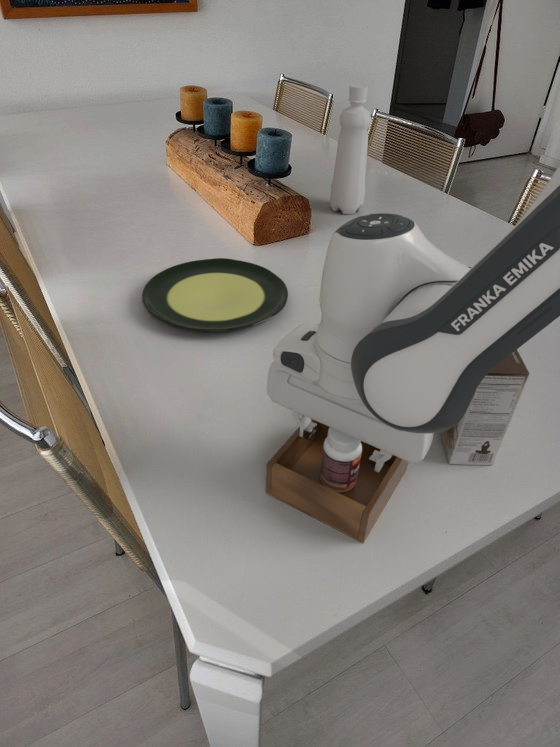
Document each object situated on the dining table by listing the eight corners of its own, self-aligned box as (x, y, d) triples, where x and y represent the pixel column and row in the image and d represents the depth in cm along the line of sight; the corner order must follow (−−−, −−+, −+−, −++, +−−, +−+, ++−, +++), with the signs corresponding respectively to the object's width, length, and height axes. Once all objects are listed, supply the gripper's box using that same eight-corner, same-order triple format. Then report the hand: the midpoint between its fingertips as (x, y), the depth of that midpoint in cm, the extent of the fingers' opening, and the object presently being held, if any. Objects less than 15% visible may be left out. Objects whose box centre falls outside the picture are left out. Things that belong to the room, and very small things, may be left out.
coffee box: (433, 419, 81) (459, 328, 71) (476, 421, 81) (507, 330, 71) (448, 465, 73) (478, 371, 64) (495, 467, 73) (532, 373, 64)
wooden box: (406, 470, 73) (413, 441, 69) (363, 543, 63) (369, 514, 60) (317, 431, 78) (320, 402, 75) (265, 493, 69) (266, 463, 65)
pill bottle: (355, 496, 68) (363, 449, 63) (317, 490, 69) (323, 443, 64) (357, 468, 72) (365, 421, 67) (321, 463, 72) (327, 416, 67)
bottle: (369, 209, 148) (385, 86, 129) (351, 218, 142) (365, 91, 124) (340, 201, 152) (352, 81, 134) (322, 210, 146) (332, 85, 128)
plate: (150, 269, 116) (148, 258, 114) (280, 267, 119) (280, 256, 117) (135, 343, 94) (133, 331, 92) (295, 338, 97) (296, 327, 95)
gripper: (456, 381, 57) (429, 470, 66) (289, 320, 65) (284, 406, 74) (436, 414, 53) (410, 505, 61) (260, 344, 61) (259, 433, 69)
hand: (340, 451), depth 67 cm, fingers open, 8 cm apart
